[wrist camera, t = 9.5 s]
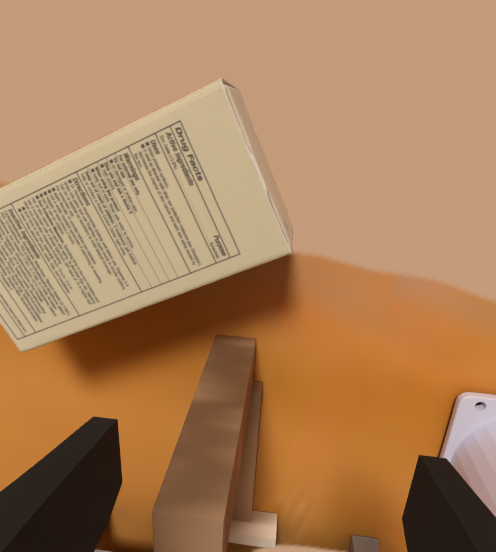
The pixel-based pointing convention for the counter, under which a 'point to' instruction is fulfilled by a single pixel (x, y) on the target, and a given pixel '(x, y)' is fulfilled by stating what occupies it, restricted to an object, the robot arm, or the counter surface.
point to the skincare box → (138, 218)
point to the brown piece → (216, 461)
